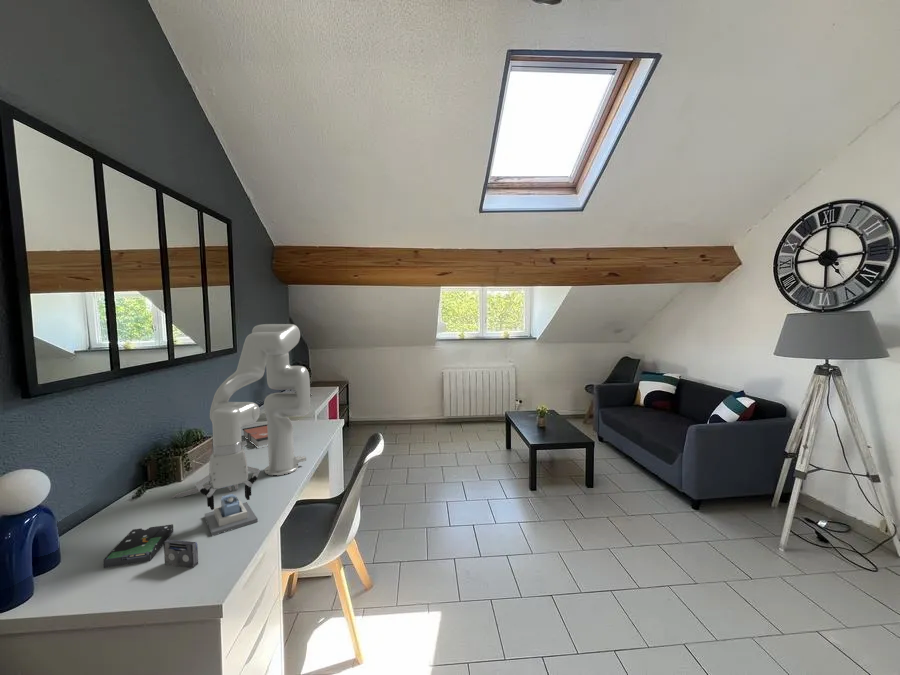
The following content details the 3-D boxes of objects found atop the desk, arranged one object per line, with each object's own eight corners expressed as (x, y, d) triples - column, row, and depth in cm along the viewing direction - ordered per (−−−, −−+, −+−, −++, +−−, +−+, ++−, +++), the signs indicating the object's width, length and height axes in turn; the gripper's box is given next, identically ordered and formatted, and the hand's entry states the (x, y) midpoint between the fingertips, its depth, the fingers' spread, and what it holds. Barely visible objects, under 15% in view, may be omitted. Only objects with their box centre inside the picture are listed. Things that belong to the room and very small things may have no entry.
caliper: (238, 490, 143) (237, 472, 142) (237, 491, 142) (236, 474, 141) (172, 497, 137) (172, 479, 137) (171, 499, 136) (170, 481, 135)
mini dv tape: (198, 564, 99) (197, 541, 99) (193, 568, 98) (192, 544, 97) (170, 561, 100) (168, 538, 100) (164, 565, 99) (163, 541, 99)
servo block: (235, 508, 126) (234, 490, 125) (241, 519, 119) (240, 500, 118) (220, 512, 123) (219, 493, 123) (225, 524, 116) (225, 504, 116)
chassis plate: (246, 505, 130) (246, 496, 130) (257, 521, 119) (257, 512, 119) (204, 516, 123) (204, 507, 123) (211, 536, 112) (211, 525, 112)
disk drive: (132, 539, 112) (102, 570, 98) (131, 529, 112) (102, 559, 98) (174, 532, 115) (151, 562, 101) (173, 523, 115) (151, 551, 101)
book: (241, 437, 206) (240, 428, 206) (276, 430, 218) (275, 421, 218) (255, 449, 187) (255, 439, 186) (293, 441, 198) (292, 431, 198)
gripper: (255, 439, 128) (257, 491, 129) (192, 451, 117) (195, 507, 118) (261, 445, 122) (263, 499, 123) (195, 458, 112) (198, 517, 112)
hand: (230, 503), depth 121 cm, fingers open, 9 cm apart
